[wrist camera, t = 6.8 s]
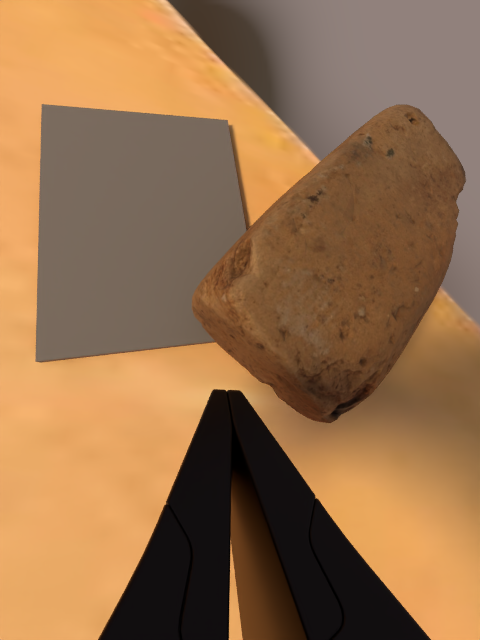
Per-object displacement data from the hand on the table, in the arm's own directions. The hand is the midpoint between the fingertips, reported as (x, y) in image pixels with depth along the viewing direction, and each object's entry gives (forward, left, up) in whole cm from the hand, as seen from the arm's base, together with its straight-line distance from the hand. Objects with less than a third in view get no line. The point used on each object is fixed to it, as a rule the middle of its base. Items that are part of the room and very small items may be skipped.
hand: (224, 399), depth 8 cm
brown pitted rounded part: (+1, -2, -6) cm, 6 cm away
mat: (+13, +2, -10) cm, 16 cm away
